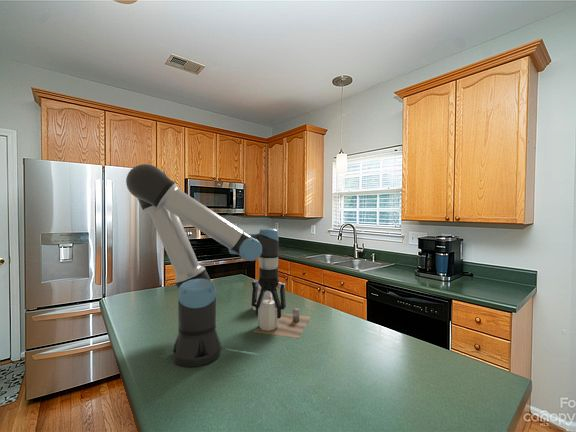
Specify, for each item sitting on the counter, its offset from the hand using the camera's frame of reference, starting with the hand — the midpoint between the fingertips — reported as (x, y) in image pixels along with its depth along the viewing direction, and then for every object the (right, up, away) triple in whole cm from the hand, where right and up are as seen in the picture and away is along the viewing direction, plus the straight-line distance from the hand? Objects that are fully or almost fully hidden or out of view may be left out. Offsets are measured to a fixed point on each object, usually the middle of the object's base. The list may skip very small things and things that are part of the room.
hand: (268, 324), depth 113 cm
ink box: (-4, -1, +21) cm, 22 cm away
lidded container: (0, -1, 0) cm, 1 cm away
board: (+6, -1, +3) cm, 7 cm away
